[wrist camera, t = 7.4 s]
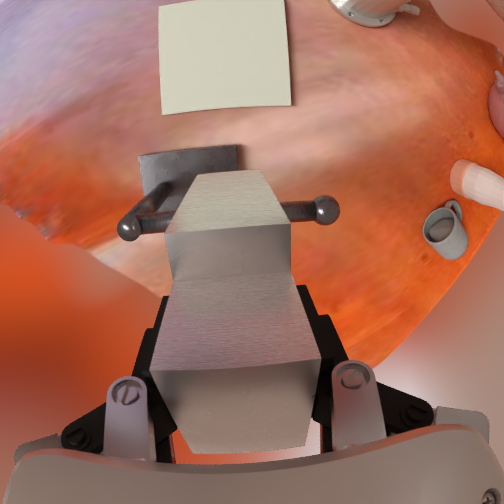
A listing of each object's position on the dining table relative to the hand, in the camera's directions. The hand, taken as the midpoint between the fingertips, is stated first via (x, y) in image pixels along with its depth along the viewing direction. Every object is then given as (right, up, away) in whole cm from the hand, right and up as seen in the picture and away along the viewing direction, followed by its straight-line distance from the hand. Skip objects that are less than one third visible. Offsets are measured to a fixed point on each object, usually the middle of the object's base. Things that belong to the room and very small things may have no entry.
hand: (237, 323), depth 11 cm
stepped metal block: (-1, +4, +9) cm, 9 cm away
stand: (-4, +13, +30) cm, 33 cm away
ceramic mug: (+37, +9, +36) cm, 52 cm away
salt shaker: (+41, +18, +32) cm, 55 cm away
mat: (-3, +31, +22) cm, 38 cm away
